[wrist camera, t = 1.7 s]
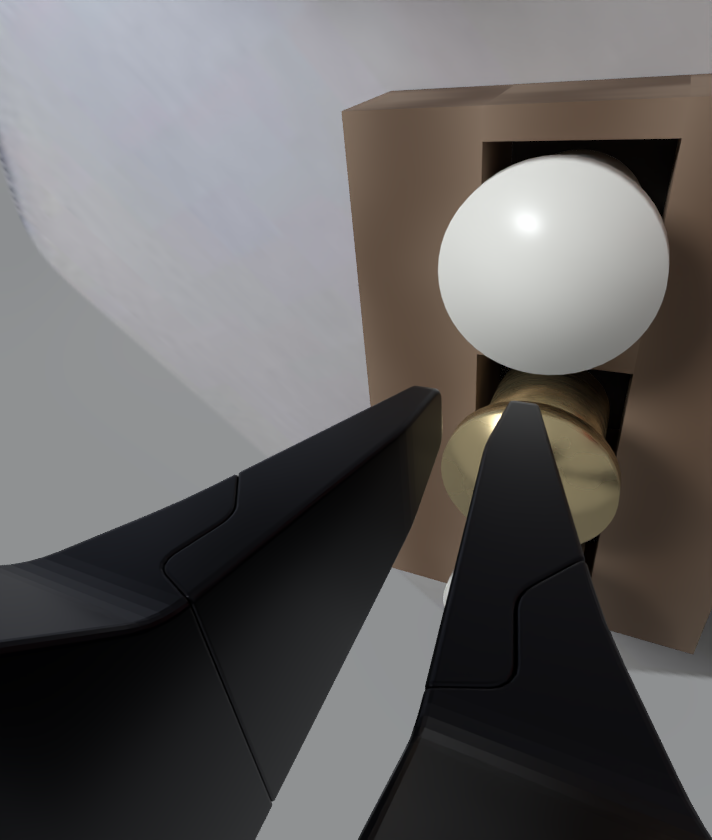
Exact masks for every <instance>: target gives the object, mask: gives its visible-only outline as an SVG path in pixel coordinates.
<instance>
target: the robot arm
mask: <svg viewBox="0 0 712 840" xmlns="http://www.w3.org/2000/svg"><path fill="white" fill-rule="evenodd" d="M441 440H442V398H441V393H440V391H439V390H438V389H435V388H429V387H422V386H412V387H410V388H408V389H406V390H404V391H402V392H400V393H398V394H396V395H394V396H392V397H390V398H388V399H386V400H384V401H382V402H380V403H378V404H376V405H374V406H372V407H370V408H368V409H366V410H364V411H362V412H360V413H358V414H356V415H354V416H352V417H350V418H348V419H346V420H344V421H342V422H340V423H338V424H336V425H334V426H332V427H330V428H328V429H326V430H324V431H322V432H320V433H318V434H316V435H314V436H312V437H310V438H308V439H306V440H304V441H302V442H300V443H298V444H296V445H294V446H292V447H290V448H288V449H285V450H283V451H281V452H279V453H277V454H275V455H273V456H271V457H269V458H267V459H265V460H263V461H262V462H259V463H258V464H255V465H253V466H251V467H249V468H248V469H245V470H243V471H241V472H240V473H239V476H237V475H233V476H232V477H229V478H227V479H225V480H223V481H221V482H219V483H217V484H215V485H213V486H211V487H209V488H207V489H205V490H203V491H200V492H198V493H196V494H194V495H192V496H190V497H188V498H186V499H184V500H182V501H179V502H177V503H175V504H172V505H170V506H168V507H165V508H163V509H161V510H158V511H156V512H154V513H151V514H149V515H147V516H144V517H142V518H139V519H137V520H135V521H132V522H130V523H127V524H125V525H122V526H120V527H118V528H115V529H113V530H110V531H108V532H105V533H103V534H100V535H98V536H95V537H93V538H91V539H88V540H86V541H83V542H81V543H78V544H76V545H74V546H71V547H69V548H66V549H64V550H61V551H59V552H56V553H54V554H51V555H48V556H45V557H43V558H39V559H35V560H32V561H28V562H22V563H17V564H11V565H0V840H255V839H256V837H257V835H258V833H259V831H260V829H261V827H262V824H263V823H264V821H265V819H266V817H267V815H268V813H269V811H270V809H271V807H272V802H271V801H274V800H275V798H276V796H277V794H278V792H279V790H280V788H281V786H282V784H283V782H284V780H285V778H286V776H287V774H288V772H289V770H290V768H291V767H292V765H293V762H294V761H295V759H296V757H297V755H298V753H299V751H300V748H301V747H302V744H303V743H304V741H305V739H306V737H307V735H308V733H309V731H310V729H311V727H312V725H313V723H314V721H315V719H316V717H317V715H318V713H319V711H320V709H321V707H322V705H323V703H324V701H325V699H326V697H327V695H328V693H329V691H330V689H331V687H332V685H333V683H334V681H335V679H336V677H337V675H338V673H339V671H340V669H341V667H342V665H343V663H344V661H345V659H346V657H347V655H348V653H349V651H350V649H351V647H352V645H353V643H354V641H355V639H356V637H357V635H358V633H359V631H360V629H361V627H362V626H363V623H364V621H365V620H366V617H367V616H368V614H369V612H370V609H371V608H372V606H373V604H374V602H375V599H376V598H377V596H378V594H379V592H380V589H381V588H382V586H383V584H384V582H385V580H386V578H387V576H388V574H389V572H390V570H391V568H392V566H393V564H394V562H395V560H396V558H397V556H398V554H399V552H400V550H401V548H402V546H403V544H404V542H405V540H406V538H407V536H408V534H409V532H410V529H411V527H412V525H413V522H414V519H415V517H416V514H417V511H418V508H419V505H420V503H421V500H422V497H423V494H424V491H425V488H426V486H427V483H428V480H429V477H430V474H431V471H432V468H433V466H434V463H435V460H436V457H437V454H438V451H439V448H440V445H441ZM358 840H712V837H711V836H710V834H709V833H708V831H707V830H706V828H705V827H704V825H703V823H702V821H701V820H700V818H699V816H698V814H697V812H696V811H695V809H694V807H693V805H692V804H691V802H690V800H689V798H688V796H687V794H686V792H685V790H684V788H683V786H682V784H681V782H680V780H679V778H678V776H677V774H676V772H675V770H674V767H673V765H672V763H671V761H670V759H669V757H668V755H667V753H666V751H665V749H664V747H663V744H662V742H661V740H660V738H659V736H658V734H657V732H656V730H655V728H654V725H653V724H652V721H651V719H650V717H649V715H648V713H647V711H646V709H645V707H644V705H643V702H642V700H641V698H640V696H639V694H638V692H637V690H636V688H635V686H634V684H633V682H632V679H631V677H630V675H629V673H628V671H627V669H626V667H625V665H624V662H623V660H622V658H621V655H620V653H619V651H618V649H617V646H616V644H615V642H614V639H613V637H612V635H611V632H610V630H609V628H608V626H607V623H606V620H605V618H604V615H603V612H602V609H601V606H600V603H599V600H598V597H597V595H596V592H595V589H594V586H593V582H592V579H591V576H590V573H589V569H588V566H587V564H586V563H585V557H584V554H583V550H582V547H581V544H580V540H579V537H578V534H577V530H576V527H575V524H574V520H573V517H572V514H571V510H570V507H569V504H568V500H567V497H566V494H565V490H564V487H563V484H562V480H561V477H560V474H559V470H558V467H557V464H556V460H555V457H554V454H553V450H552V447H551V444H550V440H549V437H548V434H547V430H546V427H545V424H544V420H543V417H542V414H541V410H540V408H539V406H538V405H537V404H533V403H527V402H520V401H510V402H509V403H508V405H507V406H506V408H505V410H504V412H503V413H502V415H501V417H500V419H499V420H498V422H497V424H496V426H495V428H494V429H493V431H492V433H491V435H490V436H489V438H488V440H487V442H486V444H485V448H484V451H483V454H482V458H481V462H480V466H479V470H478V474H477V478H476V482H475V486H474V490H473V494H472V499H471V503H470V507H469V511H468V515H467V519H466V523H465V527H464V531H463V535H462V539H461V543H460V547H459V551H458V555H457V559H456V563H455V567H454V571H453V576H452V580H451V584H450V588H449V592H448V596H447V600H446V604H445V608H444V612H443V616H442V620H441V625H440V628H439V632H438V637H437V640H436V644H435V649H434V653H433V657H432V661H431V665H430V669H429V673H428V677H427V681H426V685H425V692H424V694H423V698H422V702H421V705H420V709H419V713H418V716H417V719H416V723H415V726H414V728H413V731H412V734H411V737H410V740H409V742H408V744H407V746H406V748H405V750H404V752H403V754H402V756H401V758H400V760H399V761H398V764H397V765H396V767H395V769H394V771H393V773H392V775H391V777H390V779H389V781H388V783H387V785H386V787H385V788H384V790H383V792H382V794H381V796H380V798H379V800H378V802H377V804H376V806H375V807H374V809H373V811H372V813H371V815H370V817H369V819H368V821H367V823H366V825H365V827H364V829H363V830H362V832H361V834H360V836H359V838H358Z"/></svg>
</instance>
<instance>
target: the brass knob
mask: <svg viewBox="0 0 712 840" xmlns="http://www.w3.org/2000/svg"><path fill="white" fill-rule="evenodd" d="M510 401H520V402H527V403H533V404H537V405H538V406H539V408H540V410H541V414H542V417H543V420H544V424H545V427H546V430H547V434H548V437H549V440H550V444H551V447H552V450H553V454H554V457H555V460H556V464H557V467H558V470H559V474H560V477H561V480H562V484H563V487H564V490H565V494H566V497H567V500H568V504H569V507H570V510H571V514H572V517H573V520H574V524H575V527H576V530H577V534H578V537H579V540H580V544H582V543H584V542H586V541H588V540H591V539H592V538H594V537H595V536H597V535H599V534H600V533H601V532H602V531H603V530H604V529H606V527H607V526H608V525H609V524H610V522H611V521H612V519H613V517H614V516H615V514H616V511H617V508H618V503H619V496H620V489H621V471H620V467H619V463H618V460H617V458H616V456H615V453H614V452H613V450H612V449H611V447H610V445H609V444H608V443H607V441H606V440H605V438H606V432H607V427H608V422H609V416H610V404H609V399H608V396H607V394H606V391H605V390H604V388H603V386H602V385H601V384H600V382H599V381H598V380H597V379H596V378H595V377H594V376H593V375H592V374H590V373H589V372H588V371H586V370H585V371H581V372H577V373H571V374H564V375H541V374H532V373H527V372H522V371H519V370H515V369H511V370H510V371H509V372H508V373H507V374H506V375H505V376H504V377H503V378H502V380H501V381H500V383H499V385H498V387H497V389H496V391H495V394H494V396H493V398H492V400H491V402H490V404H489V405H488V406H485V407H483V408H480V409H478V410H476V411H475V412H473V413H471V414H470V415H469V416H467V417H466V418H465V419H464V420H463V421H462V422H461V423H460V424H459V425H458V426H457V428H456V429H455V431H454V432H453V434H452V436H451V438H450V440H449V442H448V443H447V446H446V448H445V450H444V452H443V457H442V462H441V472H442V479H443V483H444V486H445V488H446V491H447V493H448V495H449V497H450V498H451V500H452V502H453V503H454V504H455V506H456V507H457V508H458V509H459V511H460V512H461V513H462V514H463V515H464V516H465V517H466V518H467V515H468V511H469V507H470V503H471V499H472V494H473V490H474V486H475V482H476V478H477V474H478V470H479V466H480V462H481V458H482V454H483V451H484V448H485V444H486V442H487V440H488V438H489V436H490V435H491V433H492V431H493V429H494V428H495V426H496V424H497V422H498V420H499V419H500V417H501V415H502V413H503V412H504V410H505V408H506V406H507V405H508V403H509V402H510Z"/></svg>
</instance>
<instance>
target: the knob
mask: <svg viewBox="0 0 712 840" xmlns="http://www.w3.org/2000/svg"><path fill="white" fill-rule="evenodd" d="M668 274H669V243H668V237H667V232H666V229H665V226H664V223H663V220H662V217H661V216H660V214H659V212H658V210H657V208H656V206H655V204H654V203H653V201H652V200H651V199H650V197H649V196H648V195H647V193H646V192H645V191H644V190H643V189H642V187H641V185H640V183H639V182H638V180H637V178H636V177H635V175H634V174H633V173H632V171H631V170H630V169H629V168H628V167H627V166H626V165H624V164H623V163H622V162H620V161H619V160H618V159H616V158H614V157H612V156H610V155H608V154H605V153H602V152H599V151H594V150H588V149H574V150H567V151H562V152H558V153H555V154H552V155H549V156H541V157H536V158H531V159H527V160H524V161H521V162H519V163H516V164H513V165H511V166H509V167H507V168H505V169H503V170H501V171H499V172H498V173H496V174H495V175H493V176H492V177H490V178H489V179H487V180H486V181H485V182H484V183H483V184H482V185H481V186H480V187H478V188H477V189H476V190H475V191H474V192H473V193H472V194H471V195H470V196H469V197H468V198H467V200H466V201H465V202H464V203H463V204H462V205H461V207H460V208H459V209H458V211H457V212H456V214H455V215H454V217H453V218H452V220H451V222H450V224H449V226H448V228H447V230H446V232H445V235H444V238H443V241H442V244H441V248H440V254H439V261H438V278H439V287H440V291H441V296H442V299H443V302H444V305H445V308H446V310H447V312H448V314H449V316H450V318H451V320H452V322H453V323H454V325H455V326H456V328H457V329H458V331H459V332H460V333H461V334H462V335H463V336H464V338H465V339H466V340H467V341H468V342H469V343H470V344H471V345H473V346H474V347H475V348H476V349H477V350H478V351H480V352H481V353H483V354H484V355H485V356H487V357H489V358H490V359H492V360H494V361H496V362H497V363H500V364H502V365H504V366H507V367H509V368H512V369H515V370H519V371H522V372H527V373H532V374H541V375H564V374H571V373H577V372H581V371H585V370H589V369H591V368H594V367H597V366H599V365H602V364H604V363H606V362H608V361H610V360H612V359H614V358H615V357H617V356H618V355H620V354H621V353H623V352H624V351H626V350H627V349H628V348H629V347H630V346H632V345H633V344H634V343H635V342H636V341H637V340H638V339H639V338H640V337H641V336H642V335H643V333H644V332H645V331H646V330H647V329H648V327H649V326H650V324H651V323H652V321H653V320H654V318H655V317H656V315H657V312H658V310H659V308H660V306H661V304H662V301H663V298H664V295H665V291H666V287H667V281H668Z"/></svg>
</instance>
